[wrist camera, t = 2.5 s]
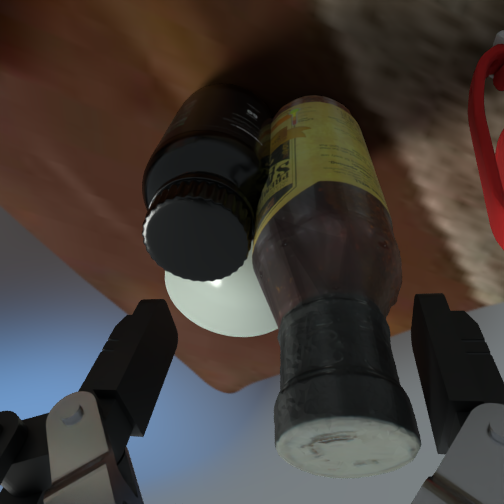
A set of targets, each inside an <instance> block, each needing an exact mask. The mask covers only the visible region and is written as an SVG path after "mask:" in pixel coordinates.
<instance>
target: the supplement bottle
mask: <svg viewBox="0 0 504 504" xmlns="http://www.w3.org/2000/svg"><path fill="white" fill-rule="evenodd" d="M273 118H274V117H273V115H272V113H271V111H270V110H269V108H268V107H267V105H266V104H265V103H264V102H263V101H262V100H261V99H260V98H259V97H258V96H257V95H256V94H254V93H253V92H251V91H249V90H248V89H245V88H243V87H240V86H237V85H233V84H214V85H209V86H206V87H204V88H201V89H199V90H198V91H196V92H195V93H193V94H192V95H191V96H190V97H189V98H188V99H187V100H186V101H185V102H184V103H183V105H182V106H181V108H180V109H179V111H178V112H177V114H176V116H175V117H174V119H173V121H172V122H171V124H170V126H169V127H168V129H167V131H166V132H165V134H164V136H163V137H162V139H161V141H160V142H159V144H158V146H157V147H156V149H155V151H154V152H153V154H152V156H151V158H150V160H149V162H148V164H147V166H146V169H145V171H144V175H143V181H142V194H143V199H144V203H145V206H146V209H147V211H148V212H147V214H146V218H145V220H144V222H143V231H142V235H143V237H144V240H143V243H144V244H145V245H146V250H147V252H148V253H149V254H150V255H151V258H152V259H153V260H155V261H156V263H157V264H158V265H159V266H161V267H163V268H164V270H165V271H167V272H170V273H172V274H173V275H174V276H179V277H181V278H183V279H189V280H191V281H201V282H205V281H215V280H221V279H223V278H224V277H228V276H230V275H231V274H232V273H234V272H237V271H238V268H239V267H241V266H243V264H244V261H245V260H246V259H247V258H248V254H249V251H250V249H251V242H252V241H253V239H254V231H255V220H256V210H257V205H258V202H259V199H260V197H261V192H262V190H263V188H264V186H265V184H266V181H267V179H268V175H269V170H270V144H271V124H272V122H273Z"/></svg>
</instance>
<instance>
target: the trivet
mask: <svg viewBox="0 0 504 504" xmlns="http://www.w3.org/2000/svg"><path fill="white" fill-rule="evenodd" d="M252 253H253V241H252V242H251V249H250V251H249V254H248V258H247V259H246V260H245V261H244V264H243V266H241V267H239V268H238V271H237V272H234V273H232V274H231V275H230V276H228V277H224V278H223V279H221V280H215V281H205V282H201V281H191V280H189V279H183V278H181V277H179V276H174V275H173V274H172V273H170V272H167V271H165V283H166V288H167V291H168V294H169V296H170V298H171V300H172V301H173V303H174V304H175V306H176V307H177V308H178V309H179V310H180V311H181V312H182V313H183V314H184V315H185V316H186V317H187V318H188V319H190V320H191V321H193V322H194V323H196V324H197V325H199V326H201V327H203V328H205V329H207V330H210V331H212V332H215V333H218V334H222V335H227V336H234V337H252V336H258V335H262V334H266V333H269V332H271V331H273V330H275V329H277V328H278V326H277V324H276V322H275V319H274V317H273V315H272V312H271V310H270V307H269V305H268V303H267V301H266V298H265V296H264V294H263V291H262V289H261V287H260V284H259V282H258V280H257V277H256V275H255V272H254V270H253V265H252Z"/></svg>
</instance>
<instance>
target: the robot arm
mask: <svg viewBox="0 0 504 504" xmlns="http://www.w3.org/2000/svg"><path fill="white" fill-rule="evenodd" d="M411 341H412V347H413V353H414V357H415V361H416V365H417V369H418V373H419V377H420V381H421V386H422V390H423V394H424V398H425V402H426V406H427V411H428V415H429V419H430V423H431V427H432V431H433V435H434V439H435V444H436V448H437V452H438V454H446V455H445V457H444V458H443V460H442V462H441V463H440V465H439V467H438V468H437V470H436V472H435V473H434V475H433V476H432V477H428V478H427V479H426V481H425V482H424V483H423V485H422V486H421V488H420V490H419V491H418V493H417V495H416V496H415V498H414V500H413V501H412V503H411V504H504V382H503V380H502V378H501V376H500V373H499V371H498V369H497V366H496V364H495V362H494V359H493V357H492V355H490V351H489V348H488V346H487V344H486V342H485V340H484V337H483V334H482V332H481V330H480V328H479V325H478V324H477V323H476V322H475V321H474V320H473V319H472V318H471V317H470V316H469V315H468V314H467V313H466V312H465V311H450V309H449V306H448V303H447V301H446V298H445V296H444V294H442V293H434V294H416V295H415V298H414V307H413V317H412V326H411ZM177 344H178V333H177V329H176V326H175V324H174V321H173V318H172V316H171V313H170V310H169V308H168V305H167V303H166V301H165V300H164V299H149V300H141V301H140V302H139V303H138V305H137V307H136V309H135V311H134V313H133V315H127V316H126V317H125V318H123V319H122V320H121V321H120V322H119V323H118V324H117V325H116V326H115V328H114V330H113V332H112V333H111V335H110V337H109V338H108V341H107V342H106V344H105V345H104V347H103V349H102V350H103V351H102V352H101V353H100V354H99V356H98V358H97V360H96V361H95V363H94V365H93V367H92V368H91V370H90V372H89V374H88V375H87V377H86V379H85V381H84V382H83V384H82V386H81V388H80V389H79V391H78V392H75V393H72V394H70V395H68V396H66V397H64V398H63V399H61V400H60V401H59V402H58V403H57V404H56V405H55V406H54V407H53V408H52V410H51V411H50V413H47V414H43V415H40V416H36V417H32V418H29V419H25V420H21V419H20V418H19V417H18V416H17V415H16V413H14V412H11V411H2V412H0V485H2V486H3V489H2V491H1V492H0V504H144V502H143V499H142V496H141V492H140V489H139V485H138V483H137V479H136V475H135V472H134V468H133V465H132V462H131V458H130V455H129V451H128V449H127V447H126V445H127V443H128V440H129V437H130V436H138V437H139V436H140V437H143V436H144V434H145V431H146V428H147V426H148V423H149V420H150V418H151V415H152V412H153V410H154V407H155V404H156V402H157V399H158V396H159V394H160V391H161V388H162V386H163V383H164V380H165V377H166V375H167V372H168V370H169V367H170V364H171V362H172V359H173V356H174V354H175V351H176V348H177Z"/></svg>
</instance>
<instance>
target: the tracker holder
mask: <svg viewBox="0 0 504 504" xmlns="http://www.w3.org/2000/svg"><path fill="white" fill-rule="evenodd" d="M488 76H489V77H491V78H492V79H493V84H494V86H495V87H496V89H497V90H499V91H504V30H502V31H500V32H498V33H497V35H496V37H495V40H494V43H493V46H492V48H490V49H489V50H488V51H487V52H485V53H484V54H483V55H482V57H481V58H480V59H479V61H478V64H477V66H476V69H475V71H474V74H473V78H472V81H471V85H470V90H469V100H468V120H469V127H470V132H471V137H472V142H473V147H474V151H475V156H476V161H477V166H478V170H479V175H480V180H481V184H482V189H483V194H484V198H485V203H486V208H487V212H488V217H489V222H490V226H491V229H492V232H493V234H494V237H495V239H496V241H497V242H498V243H499V245H500V246H501V247H502V249H503V250H504V129H503V130H502V132H501V134H500V137H499V140H498V143H497V147H496V153H494V149H493V145H492V141H491V137H490V133H489V129H488V125H487V121H486V116H485V109H484V86H485V79H486V78H487V77H488Z"/></svg>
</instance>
